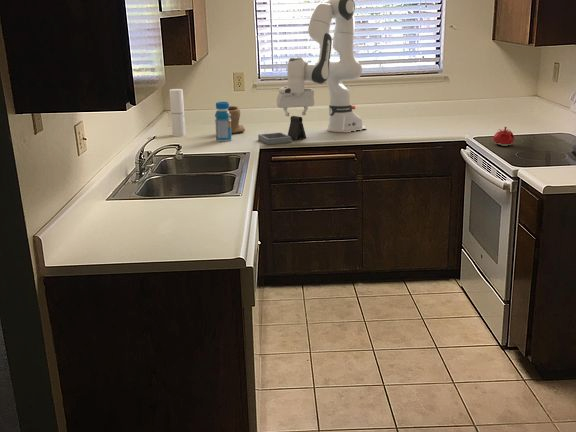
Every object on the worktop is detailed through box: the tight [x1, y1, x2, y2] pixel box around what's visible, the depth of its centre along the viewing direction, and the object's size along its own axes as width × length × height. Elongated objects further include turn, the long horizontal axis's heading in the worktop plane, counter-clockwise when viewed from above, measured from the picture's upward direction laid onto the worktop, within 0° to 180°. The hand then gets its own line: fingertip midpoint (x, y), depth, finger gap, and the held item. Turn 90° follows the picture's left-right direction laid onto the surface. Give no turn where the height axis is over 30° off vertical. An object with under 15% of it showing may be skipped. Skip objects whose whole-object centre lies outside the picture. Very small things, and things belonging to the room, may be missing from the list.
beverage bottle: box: [214, 101, 233, 143], centre depth 336 cm, size 8×8×20 cm
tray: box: [257, 131, 292, 146], centre depth 334 cm, size 13×14×3 cm
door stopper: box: [287, 115, 307, 142], centre depth 339 cm, size 9×6×12 cm, turn 134°
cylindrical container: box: [169, 88, 187, 137], centre depth 351 cm, size 7×7×25 cm
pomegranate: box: [492, 126, 515, 144], centre depth 316 cm, size 10×10×9 cm
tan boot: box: [228, 105, 246, 134], centre depth 356 cm, size 15×12×15 cm
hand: (295, 115), depth 336 cm, fingers open, 8 cm apart
